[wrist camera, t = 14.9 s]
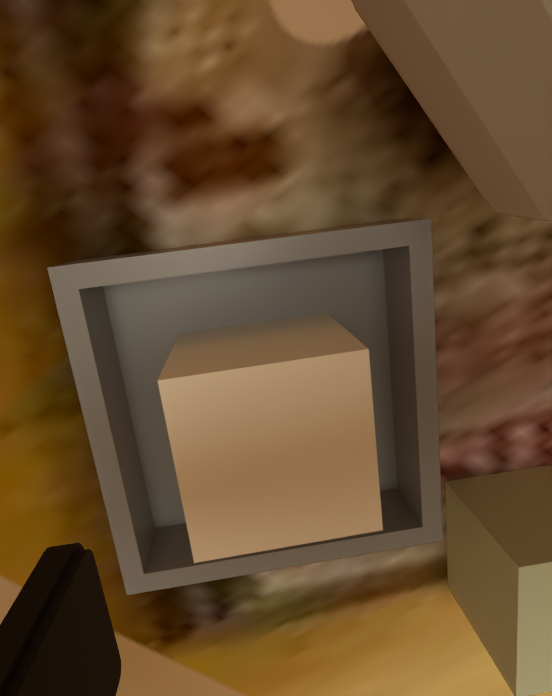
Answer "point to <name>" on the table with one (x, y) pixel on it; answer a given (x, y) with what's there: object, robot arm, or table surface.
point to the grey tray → (236, 309)
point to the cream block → (272, 435)
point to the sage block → (505, 569)
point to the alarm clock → (480, 87)
